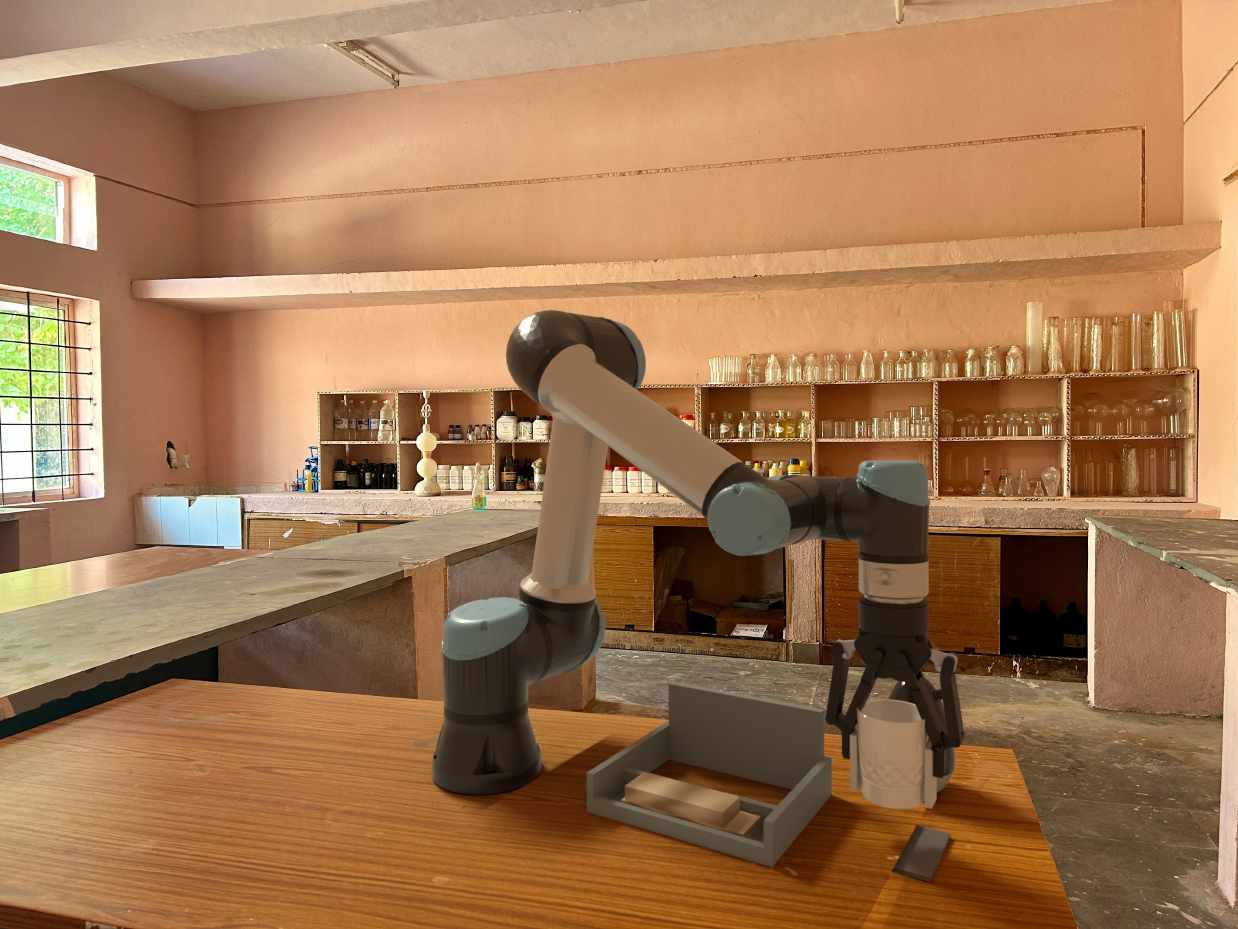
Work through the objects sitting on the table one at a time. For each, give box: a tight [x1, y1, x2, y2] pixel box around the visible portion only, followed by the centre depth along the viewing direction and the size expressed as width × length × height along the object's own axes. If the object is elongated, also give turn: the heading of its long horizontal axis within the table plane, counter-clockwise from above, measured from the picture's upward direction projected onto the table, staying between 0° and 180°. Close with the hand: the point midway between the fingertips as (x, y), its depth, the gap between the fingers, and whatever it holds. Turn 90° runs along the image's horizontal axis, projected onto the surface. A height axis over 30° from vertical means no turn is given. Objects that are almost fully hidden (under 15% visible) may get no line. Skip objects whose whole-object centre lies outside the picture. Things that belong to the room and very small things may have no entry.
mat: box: [891, 824, 951, 883], centre depth 94 cm, size 11×11×1 cm
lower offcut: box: [621, 797, 761, 840], centre depth 97 cm, size 16×5×2 cm, turn 58°
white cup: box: [856, 698, 929, 810], centre depth 93 cm, size 8×8×10 cm
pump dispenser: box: [886, 676, 957, 795], centre depth 108 cm, size 10×10×15 cm
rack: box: [585, 680, 833, 868], centre depth 102 cm, size 24×20×12 cm
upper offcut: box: [625, 772, 740, 828], centre depth 97 cm, size 13×5×2 cm, turn 58°
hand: (892, 794), depth 93 cm, fingers closed on white cup, 7 cm apart
